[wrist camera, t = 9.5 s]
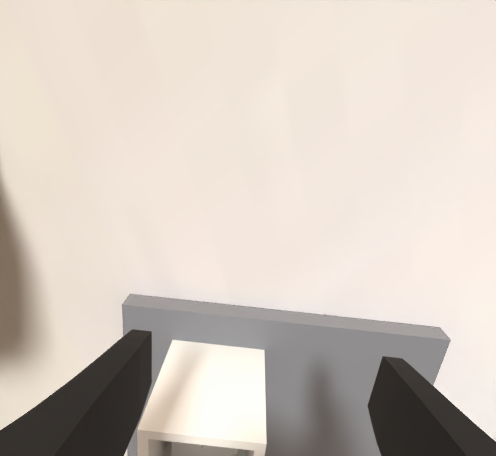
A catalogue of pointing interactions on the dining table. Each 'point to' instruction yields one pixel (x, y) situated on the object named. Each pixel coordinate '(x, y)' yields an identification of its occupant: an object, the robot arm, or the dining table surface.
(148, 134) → the dining table surface
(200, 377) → the collar
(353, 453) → the duct panel
